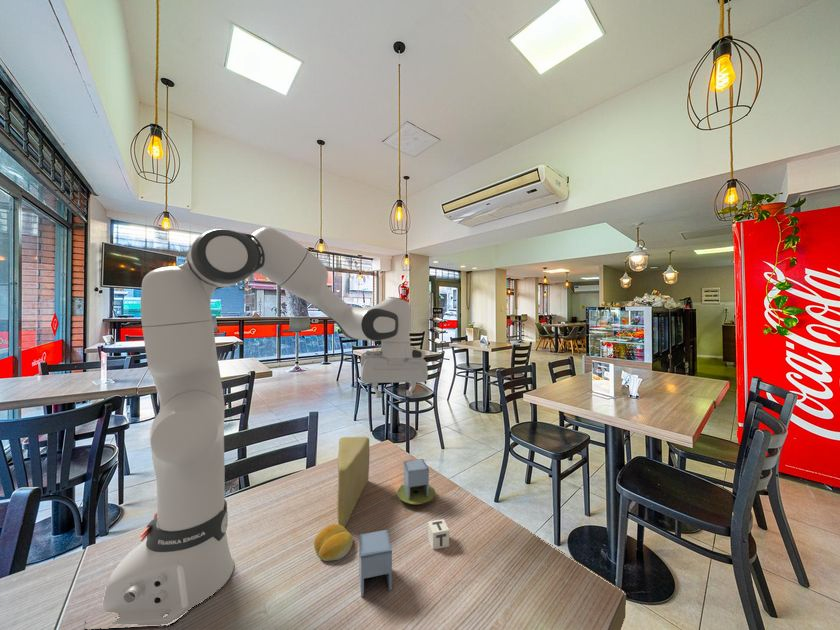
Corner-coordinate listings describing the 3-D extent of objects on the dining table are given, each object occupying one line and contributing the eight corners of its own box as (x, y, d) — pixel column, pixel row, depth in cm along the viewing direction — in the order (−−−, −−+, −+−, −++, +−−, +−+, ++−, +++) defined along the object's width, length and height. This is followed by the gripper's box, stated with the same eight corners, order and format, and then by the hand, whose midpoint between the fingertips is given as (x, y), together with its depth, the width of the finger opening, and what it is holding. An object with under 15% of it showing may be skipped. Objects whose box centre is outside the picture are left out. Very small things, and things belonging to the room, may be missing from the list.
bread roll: (325, 569, 67) (325, 551, 67) (309, 545, 73) (309, 529, 73) (359, 550, 72) (359, 533, 72) (341, 529, 79) (341, 514, 79)
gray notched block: (361, 596, 60) (361, 556, 60) (359, 571, 66) (359, 534, 66) (391, 590, 62) (392, 550, 62) (387, 565, 67) (387, 529, 67)
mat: (429, 514, 85) (429, 507, 85) (391, 505, 88) (391, 499, 88) (439, 491, 95) (439, 484, 95) (405, 484, 99) (405, 478, 99)
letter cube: (432, 550, 72) (433, 532, 72) (428, 537, 76) (428, 521, 76) (449, 547, 73) (449, 529, 73) (443, 534, 77) (443, 518, 77)
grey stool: (408, 499, 88) (408, 471, 88) (403, 487, 94) (404, 461, 94) (428, 496, 90) (428, 468, 89) (423, 484, 95) (423, 459, 95)
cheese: (360, 528, 79) (361, 470, 79) (322, 529, 79) (322, 471, 78) (369, 480, 101) (369, 435, 101) (339, 481, 101) (339, 435, 100)
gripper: (361, 352, 89) (359, 400, 88) (430, 352, 94) (428, 398, 94) (360, 349, 95) (358, 395, 94) (424, 350, 100) (422, 393, 100)
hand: (393, 396), depth 94 cm, fingers open, 8 cm apart
